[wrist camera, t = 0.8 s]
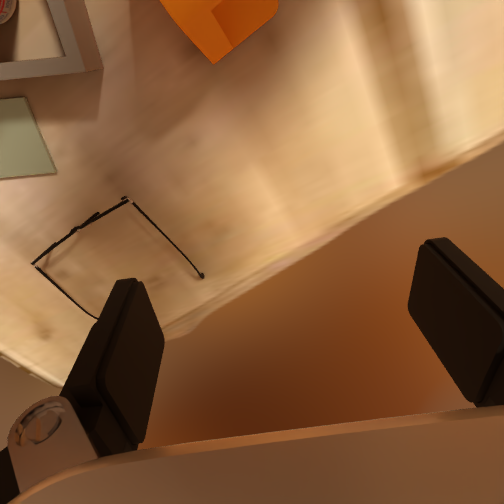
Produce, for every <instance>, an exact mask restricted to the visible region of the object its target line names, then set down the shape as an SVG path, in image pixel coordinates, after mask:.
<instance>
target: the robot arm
mask: <svg viewBox="0 0 504 504" xmlns="http://www.w3.org/2000/svg"><path fill="white" fill-rule="evenodd" d="M408 311H409V313H410V315H411V317H412V318H413V320H414V321H415V323H416V324H417V326H418V327H419V329H420V330H421V332H422V333H423V335H424V336H425V338H426V339H427V341H428V342H429V344H430V345H431V347H432V349H433V350H434V351H435V353H436V354H437V356H438V358H439V359H440V361H441V362H442V364H443V365H444V367H445V368H446V370H447V371H448V373H449V374H450V376H451V377H452V379H453V380H454V382H455V383H456V385H457V386H458V388H459V389H460V391H461V392H462V394H463V395H464V397H465V398H466V399H467V400H468V401H469V402H473V403H474V404H475V406H476V407H477V408H469V409H460V410H451V411H443V412H434V413H426V414H417V415H409V416H401V417H392V418H383V419H375V420H367V421H359V422H350V423H342V424H334V425H326V426H318V427H310V428H303V429H293V430H285V431H277V432H270V433H262V434H254V435H246V436H238V437H230V438H223V439H215V440H207V441H199V442H191V443H184V444H178V445H170V446H164V447H157V448H150V449H143V450H137V448H138V444H139V443H142V442H143V441H144V439H145V435H146V429H147V425H148V420H149V415H150V411H151V406H152V402H153V397H154V392H155V387H156V383H157V378H158V373H159V368H160V364H161V359H162V354H163V349H164V335H163V333H162V330H161V327H160V325H159V322H158V320H157V317H156V315H155V312H154V309H153V307H152V304H151V302H150V299H149V297H148V294H147V291H146V289H145V286H144V284H143V282H142V281H139V282H138V281H137V279H136V278H128V279H121V280H117V281H116V282H115V285H114V287H113V289H112V291H111V293H110V295H109V297H108V299H107V302H106V304H105V306H104V308H103V310H102V312H101V314H100V317H99V319H98V321H97V322H96V323H95V324H94V325H93V326H92V328H91V330H90V332H89V334H88V336H87V338H86V341H85V343H84V345H83V347H82V349H81V351H80V353H79V355H78V357H77V359H76V361H75V364H74V366H73V368H72V370H71V372H70V374H69V376H68V378H67V380H66V382H65V385H64V387H63V389H62V391H61V393H60V395H59V396H52V397H48V398H45V399H42V400H40V401H38V402H36V403H34V404H33V405H32V406H30V407H29V408H28V409H26V410H25V411H24V412H23V413H22V414H21V415H20V416H19V417H18V418H17V419H16V421H15V422H14V424H13V425H12V427H11V429H10V431H9V434H8V437H7V447H6V448H4V449H3V450H2V451H0V504H504V289H503V288H502V287H501V286H500V285H499V284H498V283H496V282H495V281H494V280H493V279H492V278H491V277H490V276H489V275H487V273H486V272H484V271H483V270H482V269H481V268H480V267H479V266H478V265H477V264H476V263H474V262H473V261H472V260H471V259H470V258H469V257H468V256H467V255H466V254H464V253H463V252H462V251H461V250H460V249H459V248H458V247H457V246H456V245H455V244H453V243H452V242H451V241H450V240H449V239H448V238H445V237H443V238H435V239H428V240H426V241H425V242H424V244H423V245H421V246H420V247H419V251H418V257H417V261H416V266H415V271H414V276H413V281H412V286H411V291H410V296H409V301H408Z"/></svg>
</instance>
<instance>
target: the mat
mask: <svg viewBox="0 0 504 504" xmlns="http://www.w3.org/2000/svg"><path fill="white" fill-rule="evenodd" d="M56 172H57V170H56V168H55V165H54V163H53V161H52V158H51V156H50V154H49V151H48V149H47V147H46V144H45V142H44V140H43V137H42V135H41V133H40V130H39V128H38V126H37V123H36V121H35V119H34V116H33V114H32V112H31V109H30V107H29V104H28V102H27V100H26V97H19V98H9V99H0V178H6V177H16V176H26V175H36V174H47V173H56Z"/></svg>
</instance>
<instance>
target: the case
mask: <svg viewBox="0 0 504 504" xmlns="http://www.w3.org/2000/svg"><path fill="white" fill-rule="evenodd" d="M47 3H48V5H49V8H50V11H51V14H52V17H53V20H54V23H55V26H56V29H57V32H58V35H59V38H60V41H61V44H62V46H63V49H64V52H65V55H66V57H56V58H46V59H35V60H25V61H15V62H4V63H0V80H10V79H20V78H30V77H41V76H51V75H61V74H72V73H82V72H89V71H93V70H98V69H102V68H104V67H103V64H102V60H101V57H100V54H99V50H98V47H97V43H96V40H95V36H94V33H93V30H92V26H91V23H90V19H89V16H88V12H87V9H86V6H85V2H84V0H47Z"/></svg>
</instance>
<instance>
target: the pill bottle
mask: <svg viewBox="0 0 504 504" xmlns="http://www.w3.org/2000/svg"><path fill="white" fill-rule="evenodd" d="M16 2H17V0H0V24H2V23H4V22H6V21H7V20H8V19H9V18H10V17H11V16H12V14H13V13H14V11H15V8H16Z"/></svg>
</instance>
